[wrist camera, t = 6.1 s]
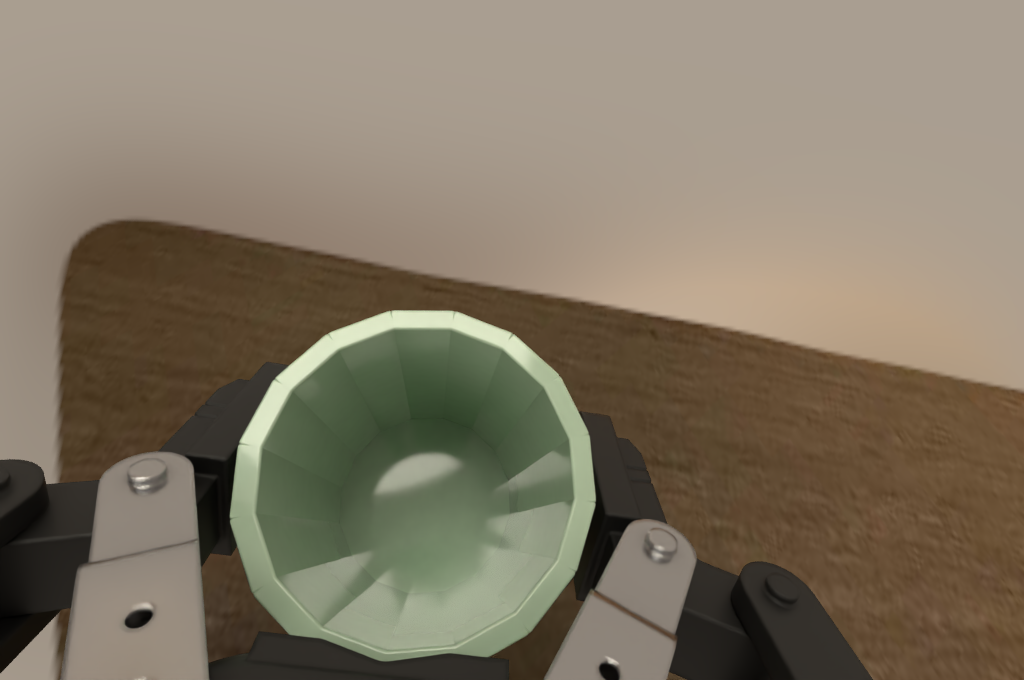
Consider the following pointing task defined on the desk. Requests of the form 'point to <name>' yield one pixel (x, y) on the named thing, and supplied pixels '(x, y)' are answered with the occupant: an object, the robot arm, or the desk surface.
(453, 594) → the cup
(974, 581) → the desk surface
